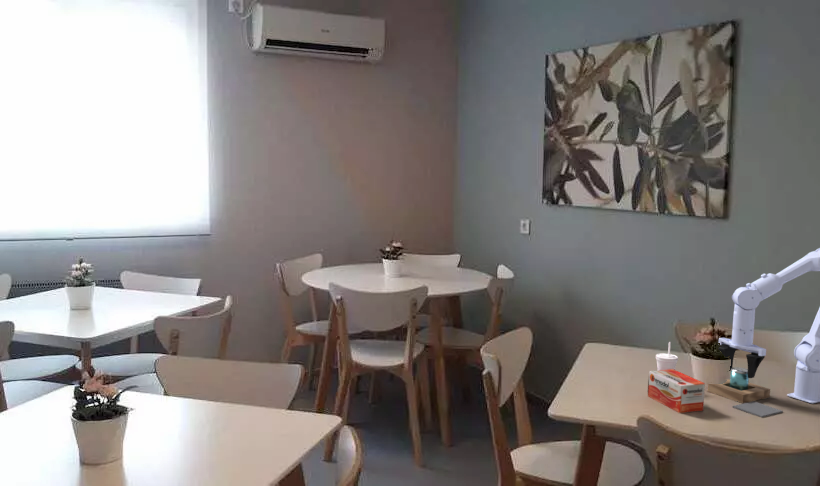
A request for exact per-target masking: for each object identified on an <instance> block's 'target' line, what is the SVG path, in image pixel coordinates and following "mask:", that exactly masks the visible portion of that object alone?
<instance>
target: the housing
mask: <svg viewBox="0 0 820 486" xmlns="http://www.w3.org/2000/svg"><path fill="white" fill-rule="evenodd" d="M726 380H727V381H726V382H725V383H723V384H707V392H708V393H711V394H715V395H716V396H720V397H723V398H726V399H728V400H731V401H734V402H737V401H738V403H740V404H744V403H748V402H753V401H755V402H757V401H759V400H764V399H768V398H770V396H771V388H768V387H766V386H765V387H764V386H762V385H758V384H755V383H752V382H749V383H748V390H743V391H740V390H737V389H734V388H731V387H730V378H728V379H726Z"/></svg>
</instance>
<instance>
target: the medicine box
mask: <svg viewBox="0 0 820 486" xmlns="http://www.w3.org/2000/svg"><path fill="white" fill-rule="evenodd" d="M647 380H648V381H647V397H648V398H650V399H652V400H654V401H655V402H658V403H660V404H661V405H663V406H665V407H666V408H668V409H671V410H672V411H674V412H676V413H678V414H685V413H692V412H693V413H694V412H703V411H704V404H705V391H706V390H705V389H706V388H705V385H706V383H705V382H703V381H701V380H698V379H696V378H694V377H692V376H691V375H687V374H685V373H683V372H680V371H678V370H676V369H675V370H674V369H668V370H649V372H648V379H647Z"/></svg>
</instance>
